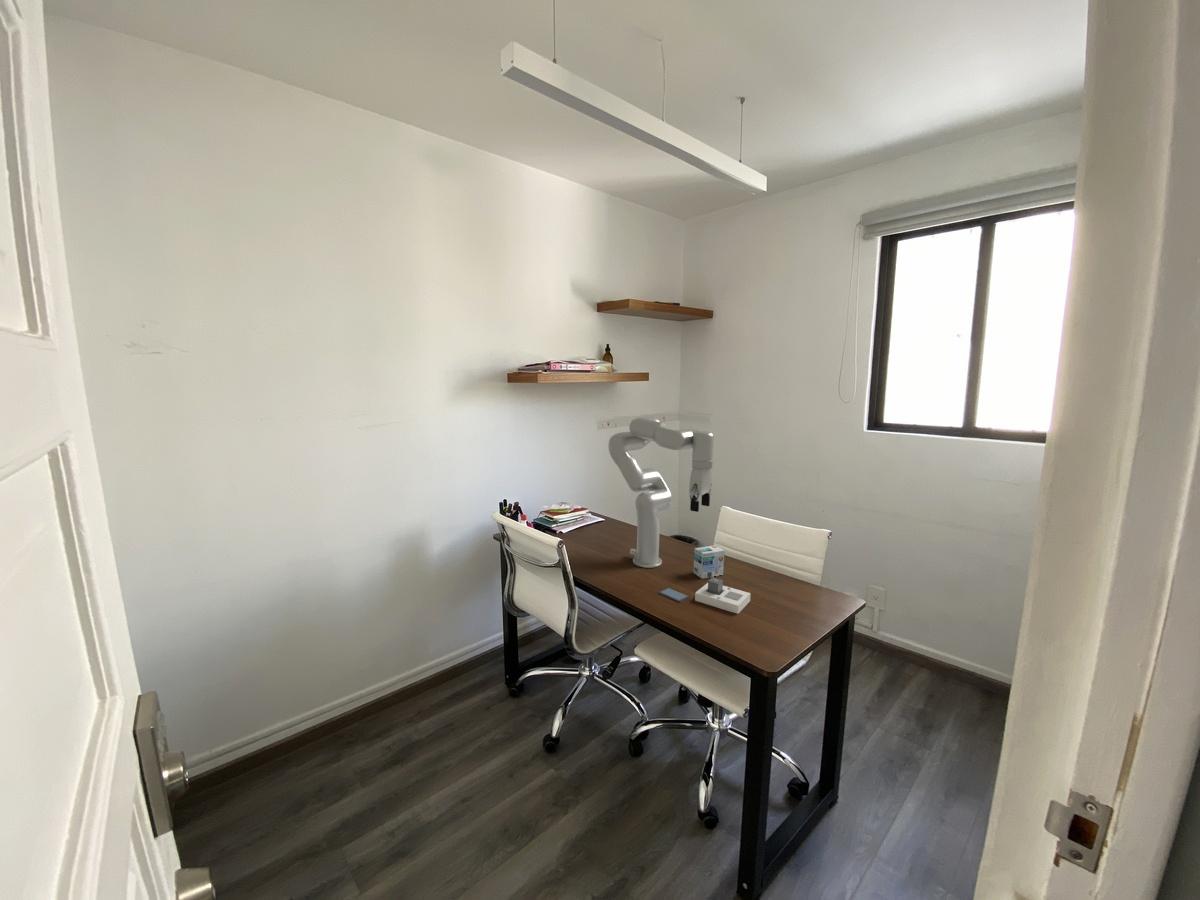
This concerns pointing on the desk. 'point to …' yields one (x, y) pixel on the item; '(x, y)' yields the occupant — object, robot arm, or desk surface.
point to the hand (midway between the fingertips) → (699, 508)
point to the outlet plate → (724, 598)
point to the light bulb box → (708, 561)
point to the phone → (674, 595)
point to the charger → (715, 586)
